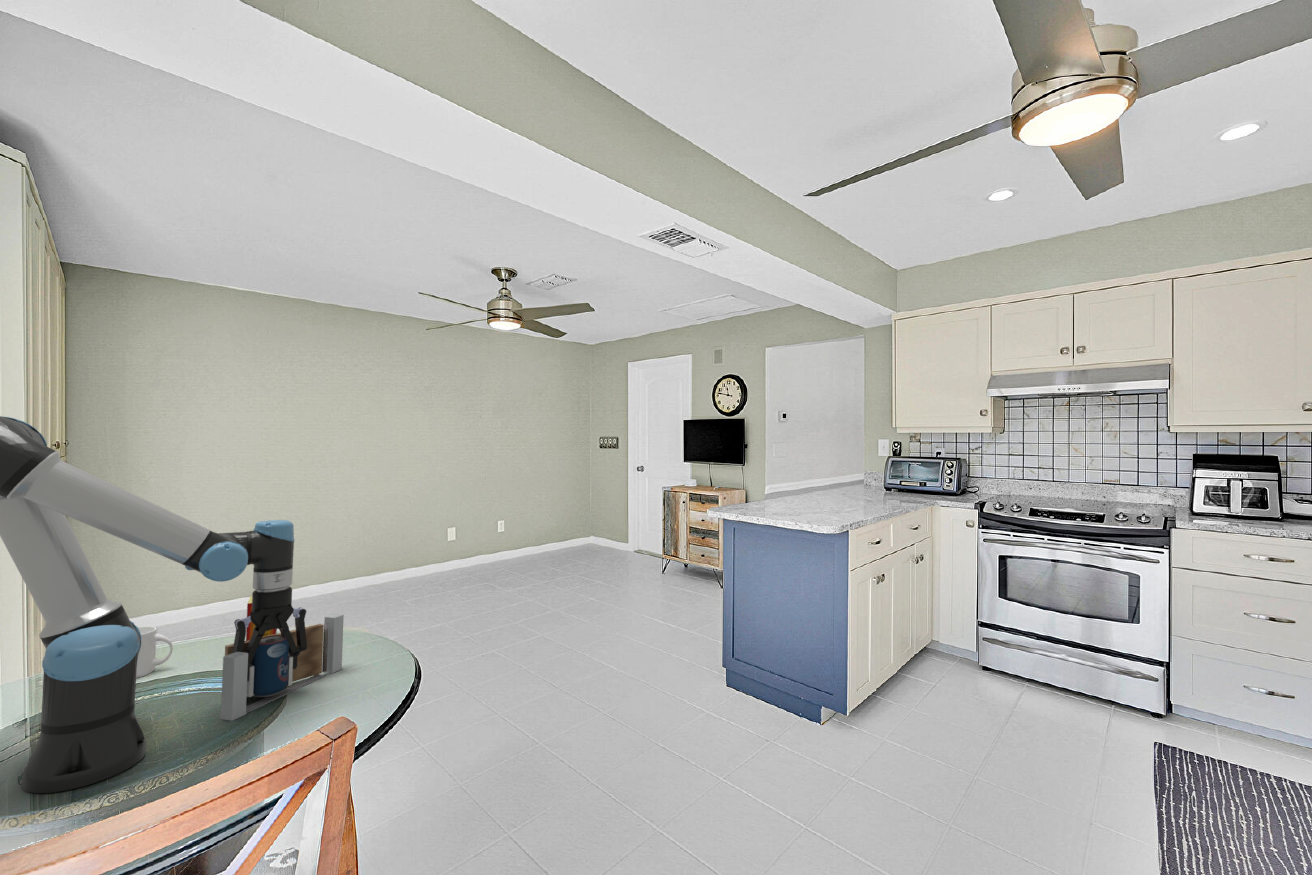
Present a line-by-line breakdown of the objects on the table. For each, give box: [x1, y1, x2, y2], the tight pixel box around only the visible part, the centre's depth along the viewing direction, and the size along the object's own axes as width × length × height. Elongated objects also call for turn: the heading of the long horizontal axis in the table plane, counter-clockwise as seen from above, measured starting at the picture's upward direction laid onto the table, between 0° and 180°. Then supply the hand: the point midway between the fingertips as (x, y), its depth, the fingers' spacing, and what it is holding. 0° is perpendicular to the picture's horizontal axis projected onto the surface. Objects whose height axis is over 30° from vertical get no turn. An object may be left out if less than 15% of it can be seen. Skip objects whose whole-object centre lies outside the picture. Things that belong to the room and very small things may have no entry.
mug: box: [136, 625, 174, 679], centre depth 138 cm, size 9×12×11 cm
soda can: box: [252, 635, 289, 698], centre depth 126 cm, size 7×7×12 cm
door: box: [224, 622, 328, 683], centre depth 132 cm, size 22×3×12 cm, turn 146°
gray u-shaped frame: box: [220, 613, 345, 722], centre depth 129 cm, size 29×3×14 cm, turn 166°
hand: (269, 689), depth 126 cm, fingers closed on soda can, 7 cm apart
